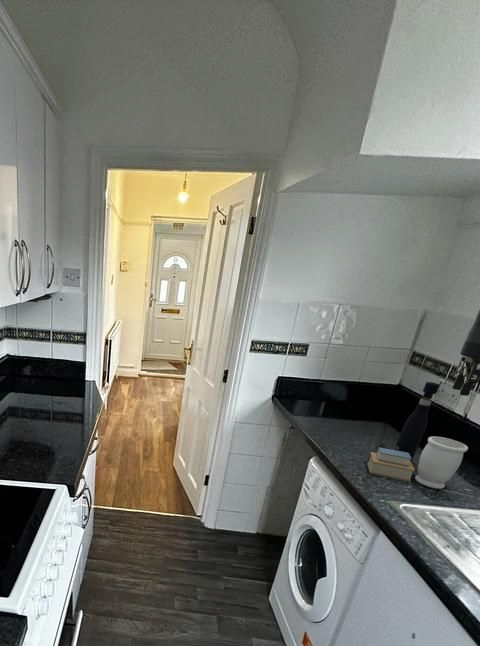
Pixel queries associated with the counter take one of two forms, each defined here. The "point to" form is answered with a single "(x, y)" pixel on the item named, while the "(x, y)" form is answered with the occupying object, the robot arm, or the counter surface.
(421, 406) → the wine bottle
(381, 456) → the pocket book
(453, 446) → the jar
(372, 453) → the big book
